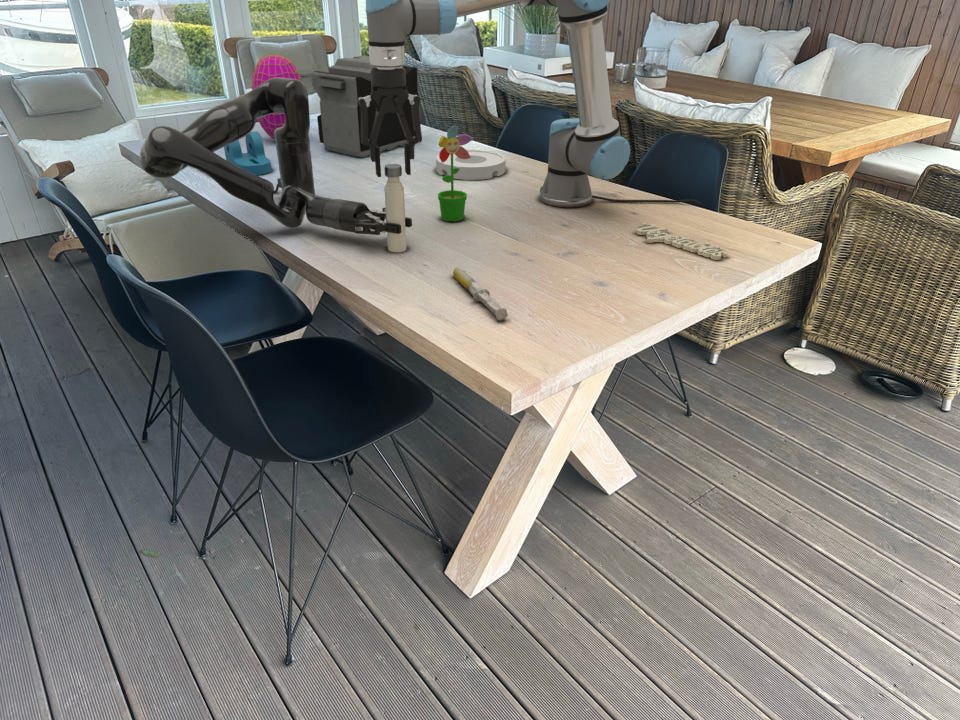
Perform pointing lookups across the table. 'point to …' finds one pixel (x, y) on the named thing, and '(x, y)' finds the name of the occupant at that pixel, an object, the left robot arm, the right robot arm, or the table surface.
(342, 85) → the electronic device
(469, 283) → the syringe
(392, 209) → the bottle
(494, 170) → the ashtray
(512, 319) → the table surface
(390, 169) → the cap
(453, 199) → the potted flower
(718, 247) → the decorative sign
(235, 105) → the left robot arm
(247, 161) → the camera mount
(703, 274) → the table surface
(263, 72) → the decorative egg
